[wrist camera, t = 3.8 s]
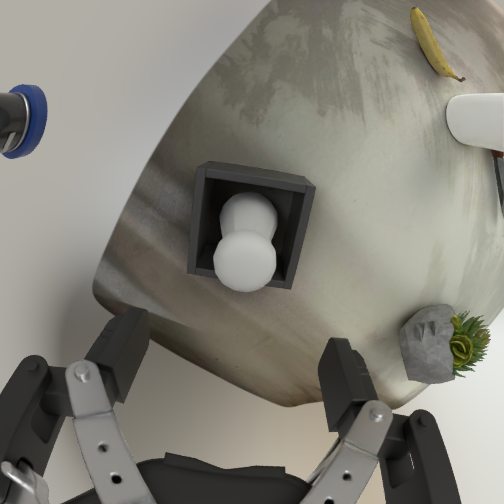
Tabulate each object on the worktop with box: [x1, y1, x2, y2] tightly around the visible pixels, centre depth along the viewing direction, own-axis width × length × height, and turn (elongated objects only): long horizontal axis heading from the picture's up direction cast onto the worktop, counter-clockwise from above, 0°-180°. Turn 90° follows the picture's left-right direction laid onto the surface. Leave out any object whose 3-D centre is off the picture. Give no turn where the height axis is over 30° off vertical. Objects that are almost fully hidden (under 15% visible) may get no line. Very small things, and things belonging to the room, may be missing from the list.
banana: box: [410, 7, 465, 82], centre depth 19 cm, size 10×2×4 cm, turn 37°
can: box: [446, 93, 504, 152], centre depth 18 cm, size 6×6×12 cm
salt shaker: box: [213, 192, 278, 292], centre depth 24 cm, size 6×6×13 cm
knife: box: [491, 149, 504, 217], centre depth 24 cm, size 18×2×3 cm, turn 26°
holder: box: [187, 161, 316, 289], centre depth 27 cm, size 10×10×6 cm
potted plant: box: [399, 304, 491, 384], centre depth 30 cm, size 12×13×15 cm
